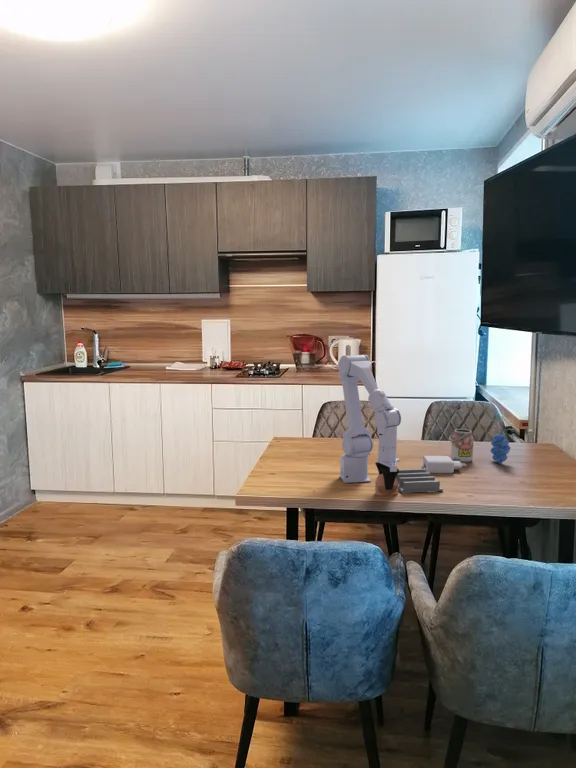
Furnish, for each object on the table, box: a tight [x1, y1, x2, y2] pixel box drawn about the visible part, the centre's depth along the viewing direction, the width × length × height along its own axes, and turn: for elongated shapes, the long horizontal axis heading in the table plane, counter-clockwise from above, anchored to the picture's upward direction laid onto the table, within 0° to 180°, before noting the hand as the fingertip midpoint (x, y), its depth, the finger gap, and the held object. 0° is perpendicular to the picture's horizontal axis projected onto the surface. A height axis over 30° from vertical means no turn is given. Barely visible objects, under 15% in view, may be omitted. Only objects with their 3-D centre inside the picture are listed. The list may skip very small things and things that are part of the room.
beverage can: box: [448, 428, 475, 464], centre depth 217 cm, size 9×8×12 cm
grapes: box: [490, 433, 511, 465], centre depth 212 cm, size 12×7×12 cm, turn 6°
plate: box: [374, 473, 399, 496], centre depth 180 cm, size 7×2×7 cm, turn 96°
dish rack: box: [396, 468, 444, 494], centre depth 188 cm, size 14×15×4 cm
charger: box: [422, 455, 467, 474], centre depth 205 cm, size 5×9×15 cm
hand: (386, 486), depth 180 cm, fingers open, 5 cm apart
